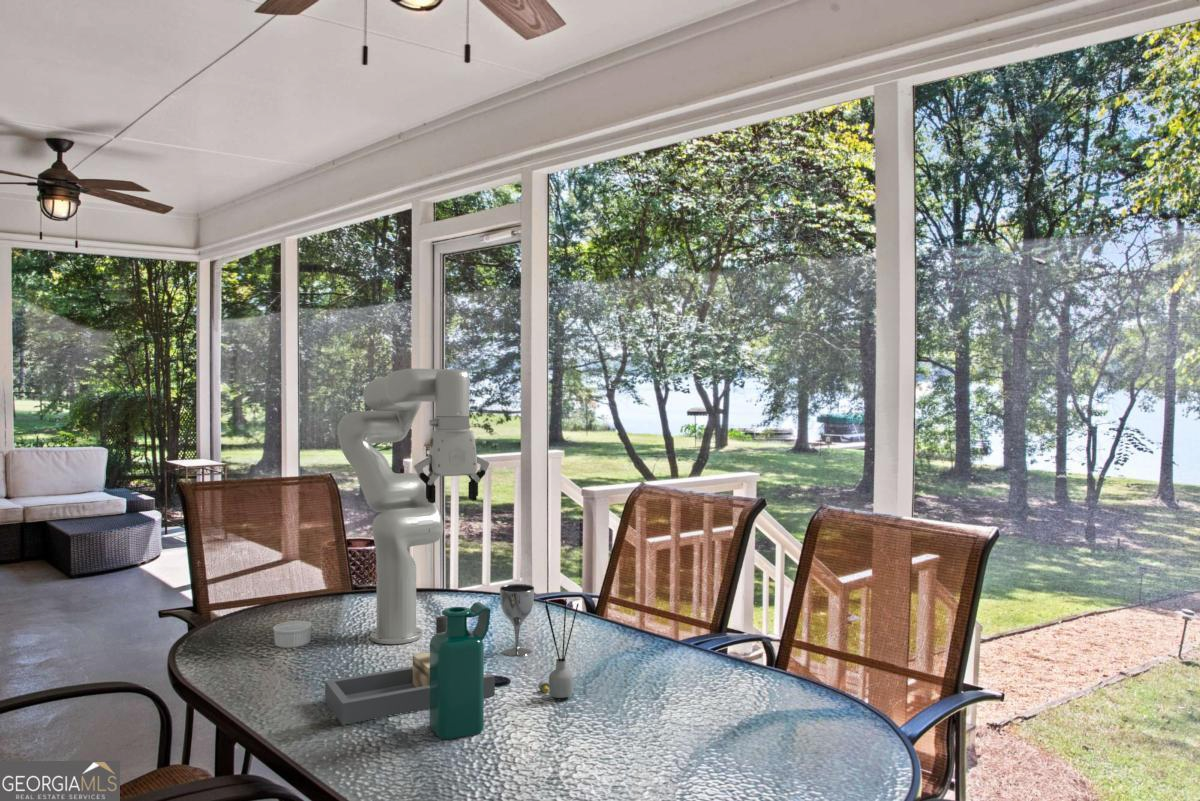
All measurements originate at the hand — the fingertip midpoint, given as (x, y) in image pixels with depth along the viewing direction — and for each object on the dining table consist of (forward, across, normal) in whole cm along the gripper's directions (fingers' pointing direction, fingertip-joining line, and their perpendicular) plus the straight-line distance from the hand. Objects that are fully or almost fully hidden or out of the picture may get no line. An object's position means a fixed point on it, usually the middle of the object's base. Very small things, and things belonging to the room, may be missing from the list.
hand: (452, 501), depth 191 cm
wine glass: (+36, +16, 0) cm, 40 cm away
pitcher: (+36, -12, -36) cm, 53 cm away
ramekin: (+37, -28, +33) cm, 57 cm away
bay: (+36, -15, -17) cm, 43 cm away
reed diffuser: (+36, +10, -31) cm, 49 cm away
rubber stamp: (+35, -8, -17) cm, 40 cm away
